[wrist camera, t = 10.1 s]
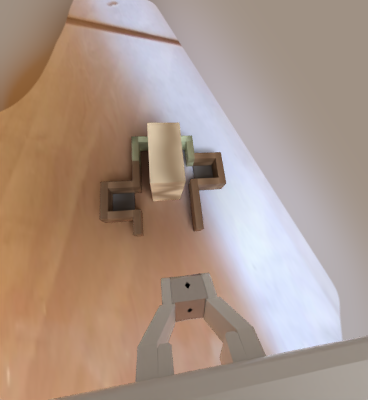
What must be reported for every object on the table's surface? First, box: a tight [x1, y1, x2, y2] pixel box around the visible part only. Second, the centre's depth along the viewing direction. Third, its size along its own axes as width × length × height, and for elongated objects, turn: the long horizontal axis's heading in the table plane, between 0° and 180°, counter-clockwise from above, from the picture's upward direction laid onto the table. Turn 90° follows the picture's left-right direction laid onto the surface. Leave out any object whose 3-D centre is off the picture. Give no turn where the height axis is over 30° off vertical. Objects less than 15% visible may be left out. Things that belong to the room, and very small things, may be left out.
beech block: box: [147, 123, 186, 201], centre depth 31 cm, size 5×10×9 cm, turn 5°
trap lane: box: [100, 136, 226, 236], centre depth 33 cm, size 22×18×3 cm
